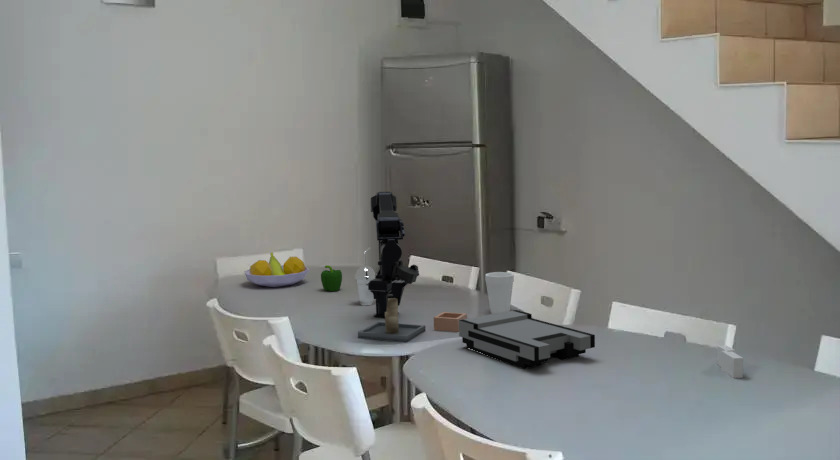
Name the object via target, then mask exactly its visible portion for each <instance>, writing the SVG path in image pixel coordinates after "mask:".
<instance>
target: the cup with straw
mask: <svg viewBox="0 0 840 460" xmlns="http://www.w3.org/2000/svg"><path fill="white" fill-rule="evenodd" d="M369 250H371V247H370V246H369V247H368V248H366V249H365V251H364V253H363V263H364V265H362V266H360V267H359V268H358V269H357V270H356V271H355V274H354V275H353V279H354V280H355V281H356V282H355V283H356V286H357V291H358V292H357V293H358V300H359V304H360V305H361V306H371V305H372V306H373V304H374V298H373V293H372V292H371V291H370V290H368V283H369V282H370V281H371V280H373V279H375V274H376V273H375V270H374V269H373V268H372V267H371V266H369V265H367V252H368V251H369Z"/></svg>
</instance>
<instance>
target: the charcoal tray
mask: <svg viewBox="0 0 840 460" xmlns="http://www.w3.org/2000/svg"><path fill="white" fill-rule="evenodd" d="M398 324H399V332H398V333H393V334H390V333H386V329H385V321H384V322H383V321H377V322H375V323H374V324H371V325H369V326H367V327H365V328H363V329H362V330H359V331H358V332H357V339H361V340H362V339H365V340H374V341H375V340H376V341H377V340H378V341H386V342H400V343H408V342H410V341H411V340H413V339H415V338H417V337H418V336H420V335H421V334H423V333H425V332H426V325H425V324H424V325H423V324H411V323H400V322H398Z"/></svg>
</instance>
